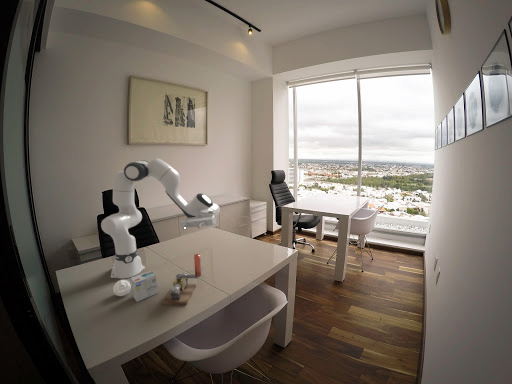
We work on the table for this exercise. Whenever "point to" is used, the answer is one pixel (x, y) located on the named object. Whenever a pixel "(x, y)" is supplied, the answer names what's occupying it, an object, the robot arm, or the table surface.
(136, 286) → the light bulb box
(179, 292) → the valve pipe
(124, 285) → the white frosted cupcake
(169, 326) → the table surface
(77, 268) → the table surface
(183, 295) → the mounting board
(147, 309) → the table surface
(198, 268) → the lever
